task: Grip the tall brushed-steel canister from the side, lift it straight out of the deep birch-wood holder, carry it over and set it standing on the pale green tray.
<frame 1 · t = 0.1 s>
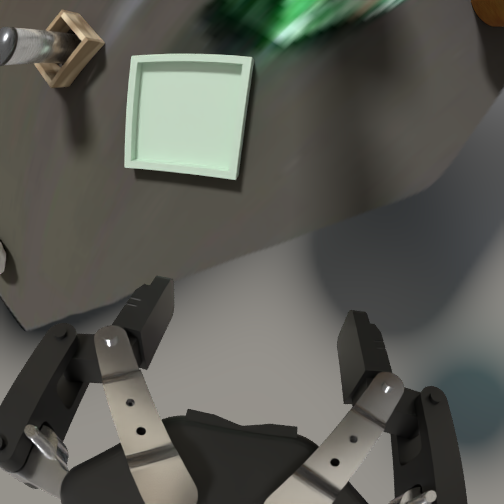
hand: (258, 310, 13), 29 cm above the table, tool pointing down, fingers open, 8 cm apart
tray: (187, 112, 36), on the table
holder: (73, 49, 32), on the table
canister: (39, 46, 25), in the holder
disposable coffee cup: (485, 9, 21), on the table
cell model: (0, 248, 53), on the table
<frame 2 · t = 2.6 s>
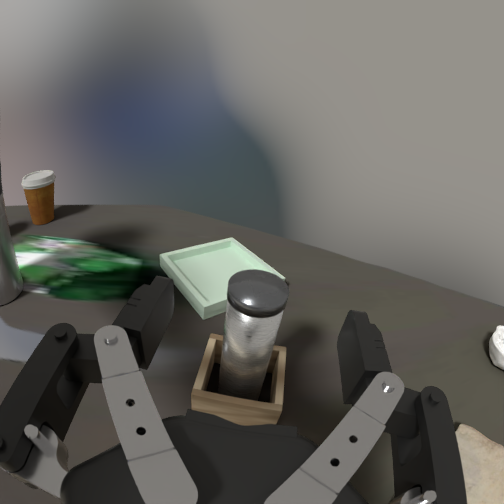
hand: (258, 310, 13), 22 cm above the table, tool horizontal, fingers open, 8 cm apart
tray: (219, 277, 53), on the table
holder: (238, 391, 33), on the table
canister: (247, 349, 29), in the holder
disposable coffee cup: (43, 220, 63), on the table
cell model: (498, 361, 39), on the table
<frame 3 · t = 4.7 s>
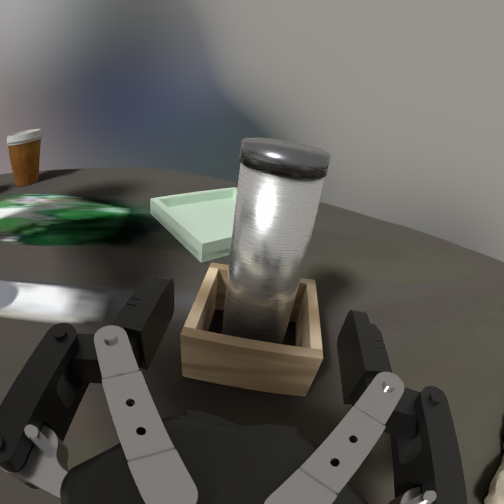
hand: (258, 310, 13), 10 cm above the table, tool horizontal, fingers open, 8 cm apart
tray: (220, 224, 44), on the table
holder: (250, 345, 24), on the table
canister: (266, 264, 20), in the holder
disposable coffee cup: (27, 182, 54), on the table
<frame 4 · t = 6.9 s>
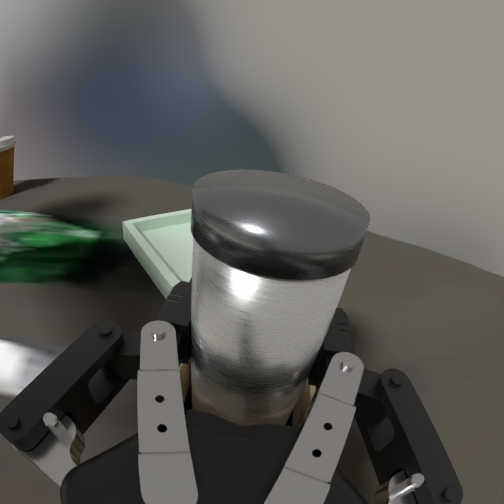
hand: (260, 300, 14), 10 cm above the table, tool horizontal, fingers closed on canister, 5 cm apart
tray: (205, 253, 36), on the table
holder: (233, 441, 16), on the table
canister: (248, 371, 13), in the holder, touching gripper
disposable coffee cup: (1, 195, 46), on the table
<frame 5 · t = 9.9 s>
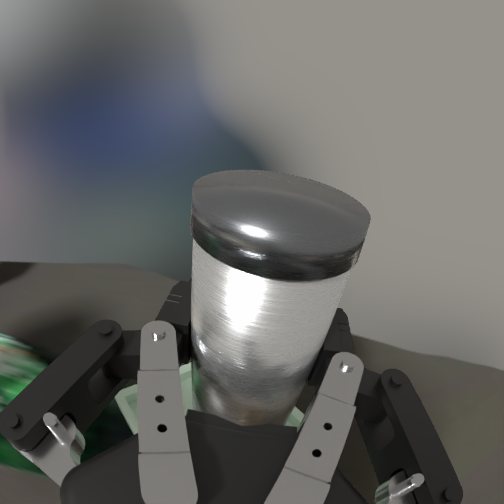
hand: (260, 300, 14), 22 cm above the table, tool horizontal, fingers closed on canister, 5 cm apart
tray: (214, 430, 28), on the table
canister: (248, 371, 12), point 20 cm above the table, touching gripper
when the fingers open (12 cm above the table, at t = 12.8 s): canister stays where it is, resting on tray.
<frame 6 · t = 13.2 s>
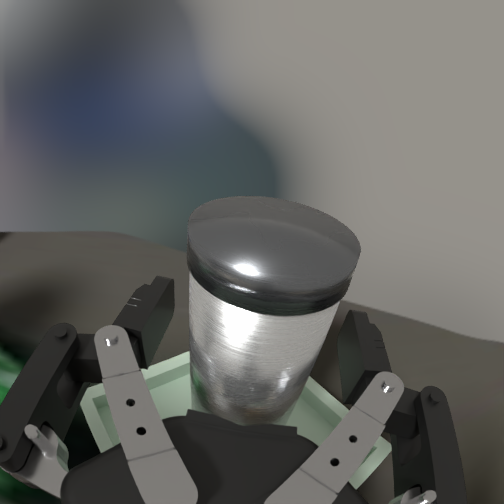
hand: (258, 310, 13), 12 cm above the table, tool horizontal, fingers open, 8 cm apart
tray: (230, 451, 17), on the table
canister: (245, 385, 13), in the tray, point 9 cm above the table
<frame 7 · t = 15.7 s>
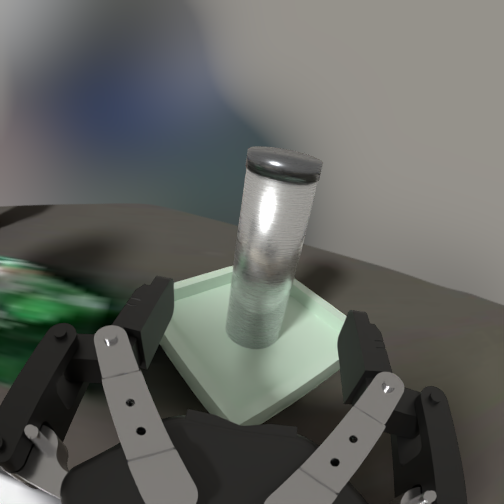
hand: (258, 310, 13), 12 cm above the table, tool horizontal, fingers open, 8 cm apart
tray: (250, 336, 28), on the table
canister: (266, 255, 24), in the tray, point 9 cm above the table
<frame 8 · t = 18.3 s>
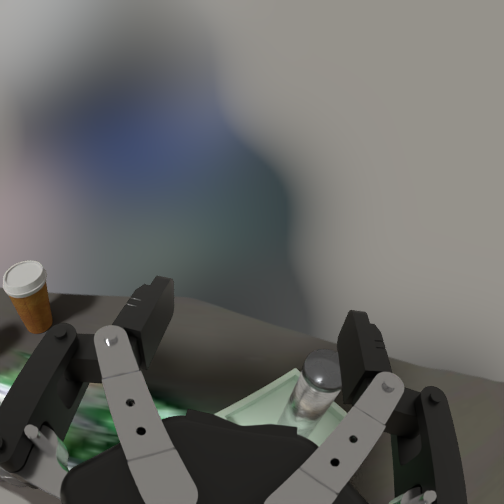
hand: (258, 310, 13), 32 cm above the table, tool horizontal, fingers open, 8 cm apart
tray: (290, 433, 38), on the table
canister: (307, 404, 33), in the tray, point 9 cm above the table
disposable coffee cup: (39, 323, 47), on the table
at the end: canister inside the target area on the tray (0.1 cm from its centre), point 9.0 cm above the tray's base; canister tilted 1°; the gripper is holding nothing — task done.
